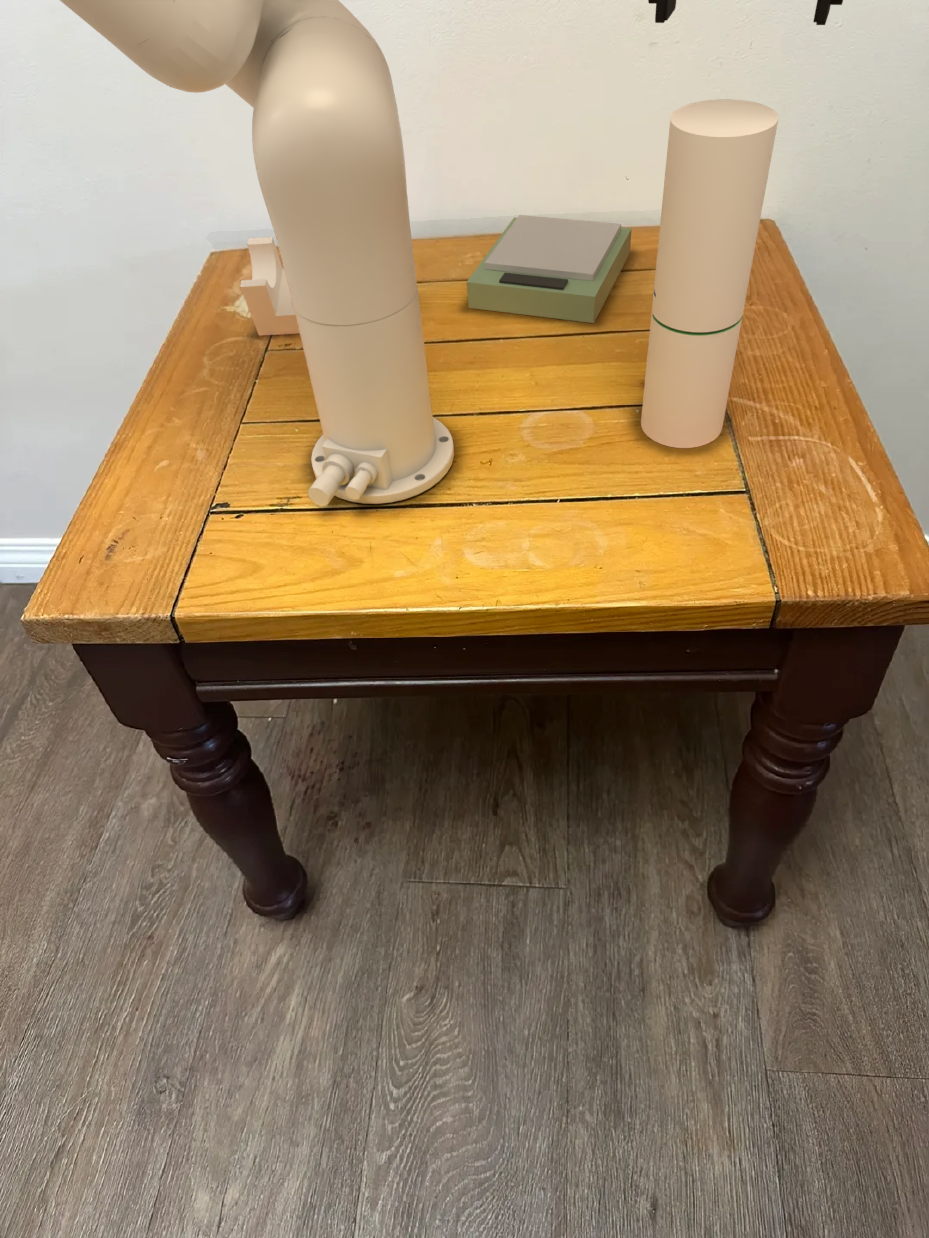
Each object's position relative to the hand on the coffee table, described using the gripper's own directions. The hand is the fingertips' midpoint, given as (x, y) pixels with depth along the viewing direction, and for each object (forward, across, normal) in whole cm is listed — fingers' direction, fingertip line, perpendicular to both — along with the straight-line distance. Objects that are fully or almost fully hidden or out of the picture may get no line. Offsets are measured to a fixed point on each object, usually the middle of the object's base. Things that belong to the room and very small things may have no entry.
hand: (741, 18), depth 55 cm
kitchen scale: (+31, -19, +23) cm, 43 cm away
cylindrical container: (+31, 0, 0) cm, 31 cm away
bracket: (+31, -41, +9) cm, 52 cm away
